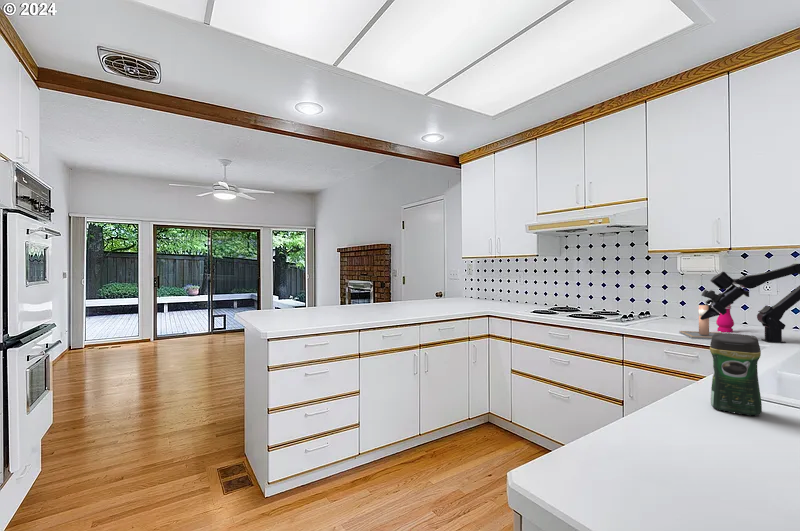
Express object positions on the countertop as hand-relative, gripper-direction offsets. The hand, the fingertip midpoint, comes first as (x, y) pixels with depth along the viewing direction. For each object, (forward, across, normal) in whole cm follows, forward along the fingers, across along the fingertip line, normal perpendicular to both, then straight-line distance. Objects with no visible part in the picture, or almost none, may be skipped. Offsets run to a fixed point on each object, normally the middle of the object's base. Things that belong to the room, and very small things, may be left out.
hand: (700, 318), depth 195 cm
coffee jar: (+11, +116, +2) cm, 116 cm away
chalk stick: (+4, 0, +6) cm, 8 cm away
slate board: (+4, -2, +8) cm, 10 cm away
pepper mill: (-3, -25, +16) cm, 30 cm away
